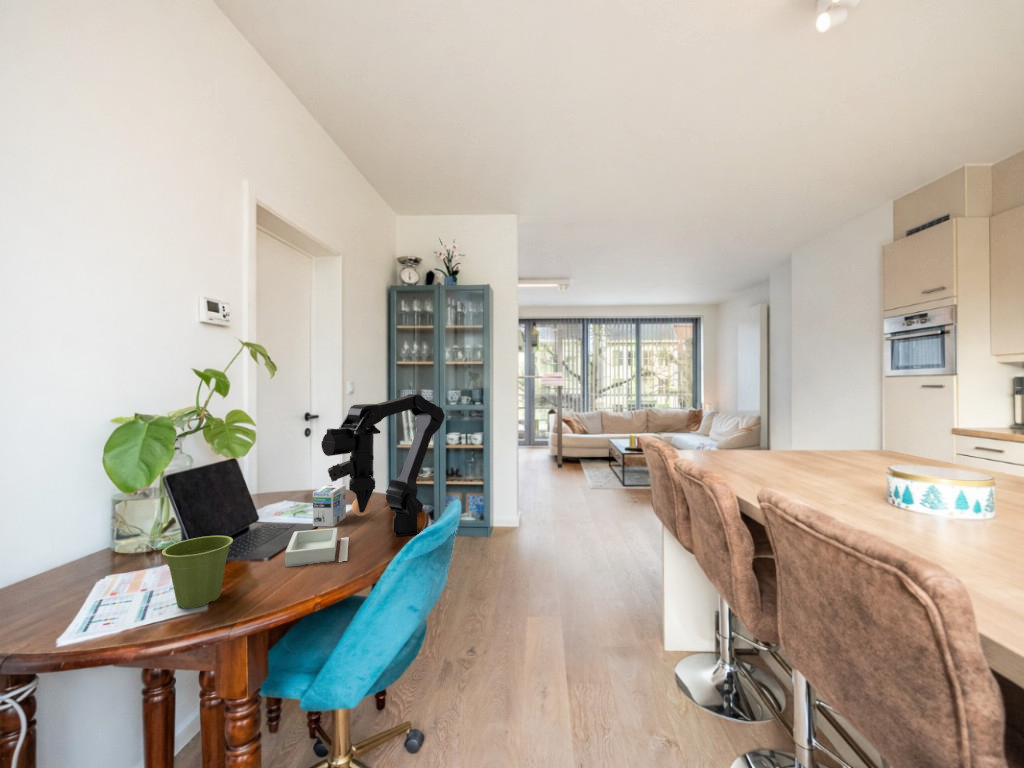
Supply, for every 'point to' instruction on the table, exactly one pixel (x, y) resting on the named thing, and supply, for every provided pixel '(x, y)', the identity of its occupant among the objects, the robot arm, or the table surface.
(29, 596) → the table surface
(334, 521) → the light bulb box
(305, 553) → the tray
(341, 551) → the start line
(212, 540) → the plant pot
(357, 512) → the ball
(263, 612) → the table surface
